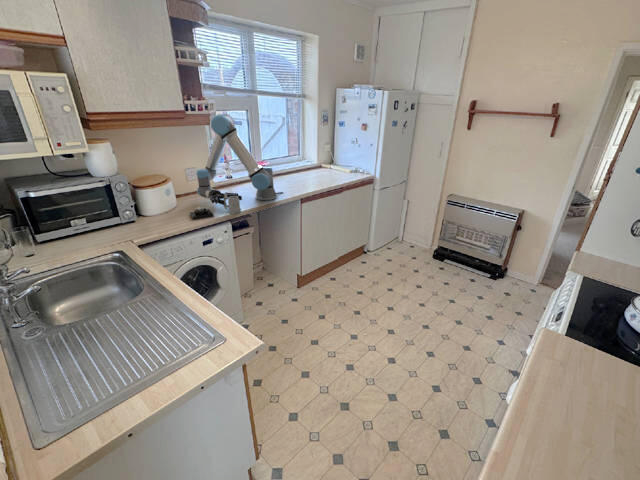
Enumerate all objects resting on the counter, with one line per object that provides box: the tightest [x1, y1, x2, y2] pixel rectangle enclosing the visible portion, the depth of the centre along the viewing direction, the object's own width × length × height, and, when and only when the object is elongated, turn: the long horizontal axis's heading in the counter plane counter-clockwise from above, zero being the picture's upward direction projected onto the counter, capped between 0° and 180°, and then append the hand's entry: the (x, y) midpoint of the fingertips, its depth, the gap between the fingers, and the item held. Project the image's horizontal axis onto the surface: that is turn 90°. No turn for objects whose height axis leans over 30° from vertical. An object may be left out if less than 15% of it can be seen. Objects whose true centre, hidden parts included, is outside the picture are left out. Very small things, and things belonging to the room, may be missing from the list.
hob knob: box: [196, 206, 205, 211], centre depth 201 cm, size 4×4×2 cm
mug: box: [223, 192, 242, 214], centre depth 210 cm, size 8×12×12 cm, turn 75°
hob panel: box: [189, 207, 214, 221], centre depth 202 cm, size 12×10×4 cm
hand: (232, 200), depth 209 cm, fingers open, 13 cm apart
